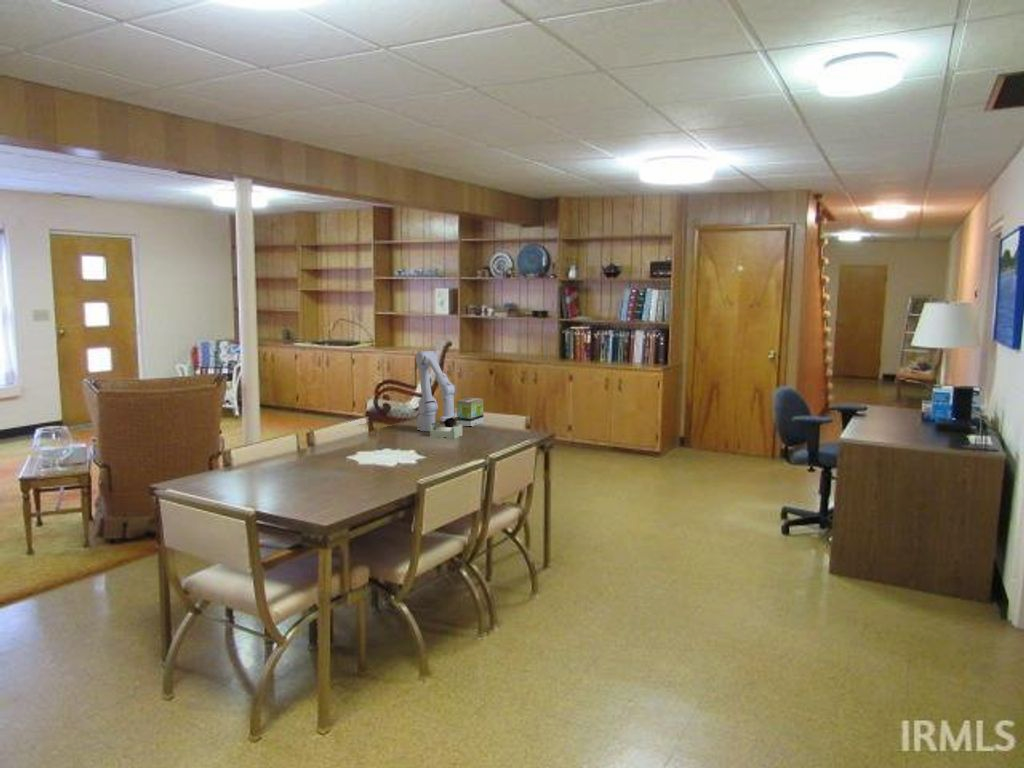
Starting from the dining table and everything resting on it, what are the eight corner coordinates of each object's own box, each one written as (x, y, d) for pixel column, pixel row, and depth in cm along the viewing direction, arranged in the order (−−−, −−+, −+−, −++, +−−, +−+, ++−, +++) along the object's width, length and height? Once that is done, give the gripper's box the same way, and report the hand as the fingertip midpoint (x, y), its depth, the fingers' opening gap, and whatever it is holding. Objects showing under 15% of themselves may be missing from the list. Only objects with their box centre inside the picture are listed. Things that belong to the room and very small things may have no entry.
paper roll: (437, 424, 387) (440, 431, 390) (434, 431, 383) (436, 438, 386) (455, 425, 383) (457, 432, 386) (452, 432, 379) (454, 439, 383)
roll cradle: (429, 436, 384) (429, 424, 383) (438, 433, 392) (437, 421, 391) (454, 438, 378) (454, 426, 377) (462, 435, 386) (462, 423, 385)
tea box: (471, 427, 408) (471, 401, 406) (456, 426, 413) (455, 400, 411) (484, 423, 422) (483, 397, 420) (469, 421, 426) (468, 396, 424)
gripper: (448, 409, 378) (449, 435, 380) (461, 405, 391) (462, 430, 393) (436, 409, 381) (437, 434, 383) (450, 404, 394) (450, 429, 396)
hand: (449, 432), depth 388 cm, fingers closed
